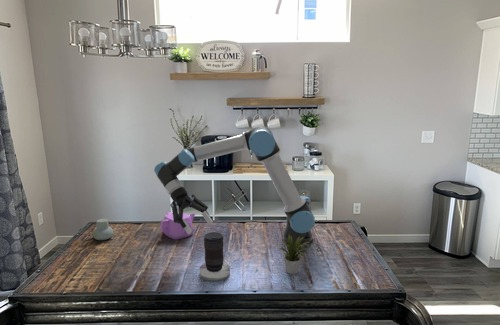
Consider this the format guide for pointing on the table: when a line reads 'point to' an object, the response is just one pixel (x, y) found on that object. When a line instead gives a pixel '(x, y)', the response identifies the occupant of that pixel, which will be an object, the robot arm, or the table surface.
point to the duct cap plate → (215, 273)
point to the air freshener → (102, 230)
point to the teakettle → (176, 226)
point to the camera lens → (213, 251)
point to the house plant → (293, 255)
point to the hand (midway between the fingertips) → (201, 228)
